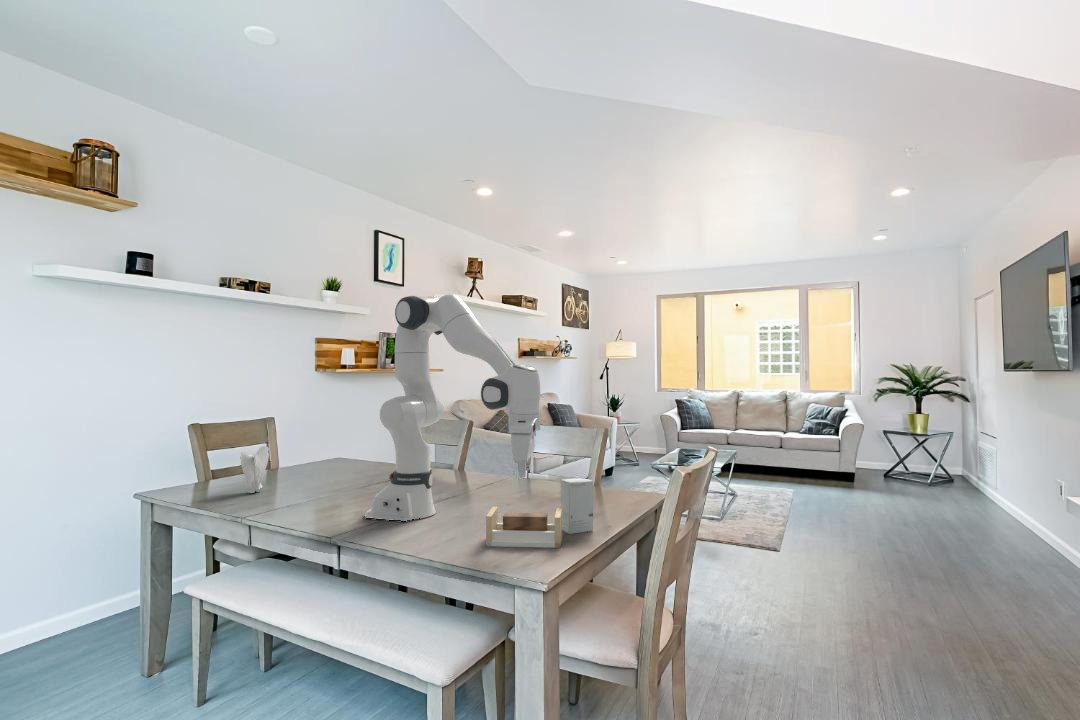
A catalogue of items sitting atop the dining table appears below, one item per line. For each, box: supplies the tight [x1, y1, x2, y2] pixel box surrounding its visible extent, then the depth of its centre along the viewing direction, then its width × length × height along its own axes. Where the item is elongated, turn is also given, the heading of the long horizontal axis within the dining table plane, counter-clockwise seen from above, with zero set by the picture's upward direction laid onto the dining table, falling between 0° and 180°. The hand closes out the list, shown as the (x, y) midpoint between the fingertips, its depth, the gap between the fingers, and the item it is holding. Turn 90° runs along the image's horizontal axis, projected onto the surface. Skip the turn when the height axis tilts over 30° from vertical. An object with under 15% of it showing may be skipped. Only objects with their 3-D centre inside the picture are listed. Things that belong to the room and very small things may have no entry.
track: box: [485, 506, 563, 549], centre depth 151 cm, size 20×10×8 cm, turn 85°
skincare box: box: [560, 477, 594, 535], centre depth 161 cm, size 8×6×15 cm
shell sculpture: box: [240, 445, 270, 490], centre depth 212 cm, size 8×8×18 cm
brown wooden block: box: [502, 512, 548, 531], centre depth 151 cm, size 12×4×6 cm, turn 85°
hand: (524, 473), depth 151 cm, fingers open, 8 cm apart
